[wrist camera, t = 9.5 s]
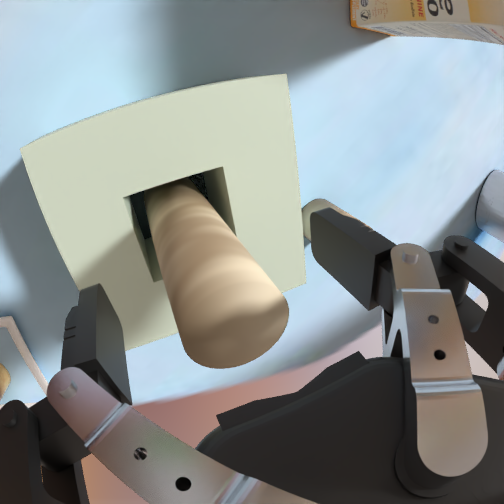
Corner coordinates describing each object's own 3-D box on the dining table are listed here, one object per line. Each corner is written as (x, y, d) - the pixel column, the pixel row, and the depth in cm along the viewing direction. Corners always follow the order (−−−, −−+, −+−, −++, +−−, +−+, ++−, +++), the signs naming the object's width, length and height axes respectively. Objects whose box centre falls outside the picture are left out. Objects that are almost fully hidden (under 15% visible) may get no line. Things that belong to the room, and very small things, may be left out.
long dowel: (189, 163, 18) (284, 265, 8) (200, 211, 19) (291, 344, 10) (137, 179, 17) (166, 308, 7) (151, 226, 19) (199, 381, 9)
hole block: (246, 77, 16) (286, 73, 12) (271, 246, 23) (306, 283, 19) (46, 134, 13) (19, 148, 9) (113, 302, 20) (117, 353, 16)
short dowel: (332, 194, 23) (377, 219, 19) (333, 230, 25) (373, 260, 21) (296, 205, 22) (337, 234, 18) (299, 242, 24) (337, 276, 20)
